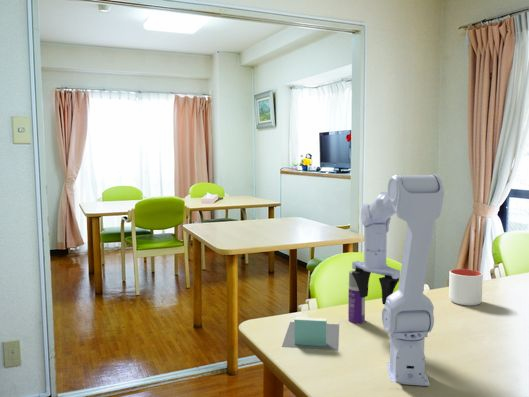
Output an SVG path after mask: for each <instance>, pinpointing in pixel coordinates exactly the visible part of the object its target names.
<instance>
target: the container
mask: <svg viewBox="0 0 529 397" xmlns="http://www.w3.org/2000/svg"><path fill="white" fill-rule="evenodd" d="M353 271H355V269H353V270H349V271H348V312H347V313H348V319H347V320H348V322H349V323H351V324H364V323H365V320H366V297H363V298H361V297H360V293H359V289H358V286H357V283H356V280H355V278H354V277H353V275H352V272H353Z"/></svg>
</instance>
